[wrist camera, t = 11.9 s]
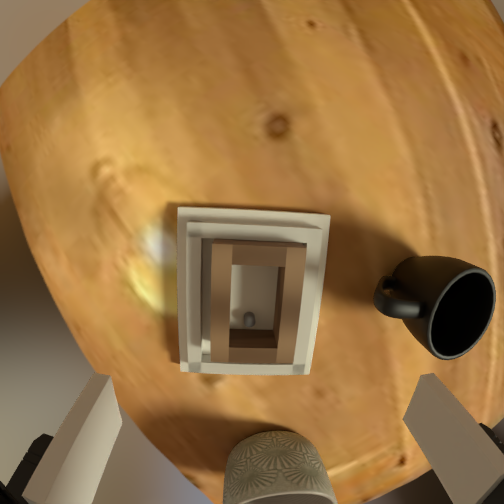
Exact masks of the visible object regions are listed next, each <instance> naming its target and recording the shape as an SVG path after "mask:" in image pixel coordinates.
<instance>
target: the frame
mask: <svg viewBox="0 0 504 504" xmlns="http://www.w3.org/2000/svg"><path fill="white" fill-rule="evenodd" d="M306 252H307V248H306V247H305V246H304V245H303V244H302V243H298V242H279V241H258V240H237V239H215V238H214V240H213V243H212V264H211V333H210V354H211V362H229V363H293V362H294V355H295V347H296V340H297V332H298V325H299V317H300V308H301V300H302V291H303V282H304V272H305V263H306ZM232 265H251V266H276V267H278V277H277V289H276V301H275V312H274V323H273V330H258V329H230V300H231V274H232Z"/></svg>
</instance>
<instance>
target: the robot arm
mask: <svg viewBox="0 0 504 504" xmlns="http://www.w3.org/2000/svg"><path fill="white" fill-rule="evenodd" d="M403 421H404V422H405V424H406V425H407V427H408V429H409V430H410V432H411V433H412V435H413V437H414V438H415V440H416V441H417V443H418V445H419V446H420V448H421V450H422V451H423V453H424V455H425V456H426V458H427V459H428V461H429V463H430V464H431V466H432V468H433V469H434V471H435V473H436V474H437V476H438V478H439V479H440V481H441V483H442V485H443V486H444V488H445V490H446V492H447V493H448V495H449V497H450V498H451V500H452V502H453V504H481V503H482V502H484V503H485V504H504V444H503V443H501V441H500V440H499V438H498V437H496V435H495V434H494V432H493V431H492V430H491V429H490V428H489V427H487V426H486V425H484V424H482V423H479V424H478V423H477V422H476V421H475V419H474V418H473V417H472V416H471V415H470V414H469V412H468V411H467V410H466V409H465V408H464V407H463V406H462V404H461V403H460V402H459V401H458V400H457V399H456V398H455V396H454V395H453V394H452V393H451V392H450V391H449V390H448V388H447V387H446V386H445V385H444V384H443V383H442V382H441V381H440V380H439V378H438V377H437V376H436V375H435V374H434V373H430V374H425V375H421V376H420V379H419V381H418V384H417V387H416V389H415V392H414V394H413V397H412V399H411V401H410V404H409V406H408V408H407V411H406V413H405V415H404V417H403ZM122 423H123V422H122V419H121V415H120V412H119V408H118V404H117V400H116V396H115V392H114V388H113V384H112V379H111V376H110V375H104V374H98V373H94V374H93V375H92V377H91V378H90V380H89V382H88V383H87V385H86V386H85V388H84V389H83V391H82V392H81V394H80V395H79V397H78V399H77V400H76V402H75V403H74V405H73V407H72V408H71V410H70V412H69V413H68V415H67V416H66V418H65V420H64V421H63V423H62V425H61V426H60V428H59V430H58V432H57V433H56V435H55V436H54V437H53V436H49V435H47V434H42V435H41V436H40V437H38V438H37V439H36V440H34V441H33V443H32V444H31V446H30V448H29V449H28V452H27V453H26V454H25V456H24V457H23V460H22V461H21V462H20V464H19V466H18V467H17V469H16V471H15V472H14V474H13V476H12V478H11V479H10V481H9V483H8V484H7V486H6V487H5V485H4V484H3V483H2V482H1V481H0V504H92V501H93V498H94V495H95V493H96V490H97V487H98V484H99V482H100V479H101V476H102V474H103V471H104V468H105V466H106V463H107V460H108V458H109V455H110V453H111V450H112V447H113V445H114V443H115V440H116V438H117V435H118V433H119V430H120V428H121V425H122Z"/></svg>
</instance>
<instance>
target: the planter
mask: <svg viewBox="0 0 504 504" xmlns="http://www.w3.org/2000/svg"><path fill="white" fill-rule="evenodd" d="M223 504H338V503H337V500H336V497H335V494H334V491H333V488H332V486H331V483H330V480H329V477H328V475H327V472H326V469H325V467H324V464H323V462H322V459H321V457H320V455H319V453H318V451H317V449H316V448H315V447H314V445H313V444H312V443H311V442H310V441H309V440H308V439H307V438H305V437H303V436H301V435H299V434H296V433H293V432H288V431H268V432H262V433H258V434H255V435H252V436H250V437H248V438H246V439H244V440H242V441H241V442H240V443H238V444H237V445H236V446H235V447H234V448H233V450H232V451H231V453H230V455H229V457H228V460H227V464H226V470H225V478H224V490H223Z"/></svg>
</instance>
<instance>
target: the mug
mask: <svg viewBox="0 0 504 504" xmlns="http://www.w3.org/2000/svg"><path fill="white" fill-rule="evenodd" d="M385 290H389V291H390V295H388V294H386V293H385V292H384V291H385ZM373 299H374V305H375V307H376V308H377V309H378V310H379V311H380V312H381V313H382V314H384V315H386V316H389V317H392V318H398V319H402V320H403V322H404V324H405V325H406V327H407V328H408V330H409V331H410V332H411V333H412V335H413V336H414V337H415V338H416V339H417V340H418V341H419V342H420V343H421V344H422V345H423V346H424V347H425V348H426V349H427V350H428V351H429V352H430V353H431V354H432V355H433V356H435V357H437V358H439V359H442V360H451V359H455V358H458V357H460V356H462V355H464V354H465V353H467V352H468V351H469V350H471V349H472V348H473V347H474V346H475V345H476V344H477V342H478V341H479V340H480V339H481V338H482V336H483V334H484V333H485V331H486V330H487V328H488V326H489V323H490V321H491V319H492V316H493V312H494V308H495V302H496V290H495V285H494V282H493V280H492V278H491V276H490V275H489V274H488V273H487V272H486V270H484V269H482V268H480V267H477V266H475V265H472V264H470V263H467V262H465V261H462V260H460V259H456V258H451V257H443V256H422V257H410V258H407V259H405V260H404V261H402V262H401V263H400V264H399V265H398V266H397V267H396V269H395V270H394V272H393V274H392V276H383V277H382V278H381V279H380V281H379V283H378V285H377V288H376V290H375V293H374V298H373Z"/></svg>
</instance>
